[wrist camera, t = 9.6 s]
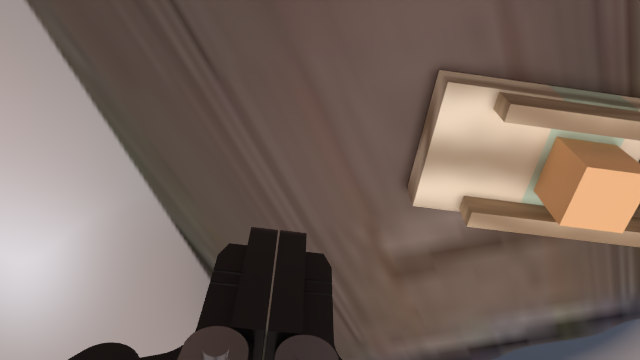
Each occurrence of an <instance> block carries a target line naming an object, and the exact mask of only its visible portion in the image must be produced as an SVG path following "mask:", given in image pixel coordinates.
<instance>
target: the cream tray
mask: <svg viewBox="0 0 640 360" xmlns="http://www.w3.org/2000/svg"><path fill="white" fill-rule="evenodd" d="M556 137H562V138H569V139H577V140H584V141H591V142H598V143H606V144H613V145H617V146H619V147H620V148H621V149H622V150H624V151H625V152H626V153H627V154H629V155H630V156H631V157H632V158H633V159H635V160H636V161H637V162H638V161H639V159H640V98H634V97H627V96H620V95H613V94H606V93H599V92H592V91H585V90H578V89H571V88H564V87H557V86H549V85H542V84H535V83H528V82H521V81H514V80H507V79H500V78H493V77H486V76H479V75H472V74H465V73H458V72H451V71H444V70H439V73H438V76H437V80H436V84H435V87H434V91H433V95H432V98H431V102H430V106H429V109H428V113H427V117H426V121H425V124H424V128H423V132H422V135H421V139H420V143H419V146H418V150H417V154H416V157H415V161H414V165H413V169H412V172H411V176H410V180H409V183H408V187H407V189H408V192H409V195H410V198H411V202H412V205H413V206H418V207H426V208H434V209H442V210H450V211H459V212H460V213H461V215H462V217H463V219H464V222H465V224H466V226H467V227H475V228H483V229H492V230H500V231H508V232H517V233H525V234H533V235H542V236H550V237H559V238H567V239H575V240H584V241H592V242H600V243H609V244H617V245H626V246H634V247H640V203H639V205H638V207H637V209H636V211H635V212H634V214H633V216H632V218H631V219H630V221H629V223H628V225H627V226H626V228H625V230H624V232H623V233H616V232H608V231H600V230H592V229H584V228H576V227H568V226H560V225H559V224H558V223H557V222H556V220H555V219H554V218H553V216H552V215H551V214H550V212H549V211H548V210H547V208H546V207H545V206H544V204H543V203H542V202H541V200H540V199H539V198H538V196H537V195H536V193H535V192H534V188H535V186H536V184H537V181H538V179H539V177H540V174H541V172H542V170H543V167H544V165H545V163H546V160H547V158H548V156H549V153H550V151H551V149H552V146H553V144H554V142H555V139H556Z"/></svg>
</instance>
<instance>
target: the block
mask: <svg viewBox="0 0 640 360" xmlns="http://www.w3.org/2000/svg"><path fill="white" fill-rule="evenodd" d="M534 192H535V193H536V195H537V196H538V198H539V199H540V200H541V202H542V203H543V204H544V206H545V207H546V208H547V210H548V211H549V212H550V214H551V215H552V216H553V218H554V219H555V220H556V222H557V223H558V224H559V225H560V226H568V227H576V228H584V229H592V230H600V231H608V232H616V233H623V232H624V230H625V228H626V226H627V225H628V223H629V221H630V219H631V218H632V216H633V214H634V212H635V211H636V209H637V207H638V205H639V203H640V163H638V162H637V161H636V160H635V159H633V158H632V157H631V156H630V155H629V154H627V153H626V152H625V151H624V150H622V149H621V148H620V147H619V146H617V145H613V144H606V143H598V142H591V141H584V140H577V139H569V138H562V137H556V139H555V142H554V144H553V146H552V149H551V151H550V153H549V156H548V158H547V160H546V163H545V165H544V167H543V170H542V172H541V174H540V177H539V179H538V181H537V184H536V186H535V188H534Z"/></svg>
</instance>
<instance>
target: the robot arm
mask: <svg viewBox="0 0 640 360" xmlns="http://www.w3.org/2000/svg"><path fill="white" fill-rule="evenodd" d="M277 233H278V230H273V229H264V228H256V227H252V228H251V231H250V236H249V241H248V245H239V244H230V243H229V244H228V245H227V246H226V247H225V248H224V249H223V250H222V251H221V252H220V253H219V254H218V257H217V260H216V263H215V267H214V272H213V274H212V277H211V281H210V284H209V288H208V291H207V294H206V298H205V301H204V305H203V308H202V312H201V315H200V318H199V322H198V326H197V328H196V331H195V333H193V334H192V335H191V336H190V337H189V338H188V339H187V340H186V341H185V343H184V345H182V346H181V347H179V348H177V349H175V350H173V351H170V352H168V353H164V354H159V355H153V356H148V357H142V358H139V356H138V354H137V353H136V352H135V350H133V349H132V348H131V347H129V346H127V345H124V344H121V343H102V344H98V345H95V346H92V347H90V348H87V349H86V350H84V351H82V352H80V353H78V354H77V355H75V356H74V357H72V358H70V359H68V360H262V353H263V345H264V338H265V330H266V322H267V314H268V306H269V299H270V291H271V283H272V275H273V266H274V258H275V250H276V242H277ZM264 360H342V359H341V358H340V356H339V355H338V353H337V351H336V349H335V346H334V334H333V302H332V269H331V266H330V264H329V262H328V261H327V259H326V257H325V256H324V254H320V253H311V252H306V233H300V232H291V231H283V230H280V236H279V245H278V253H277V261H276V269H275V277H274V285H273V293H272V301H271V309H270V317H269V326H268V334H267V342H266V350H265V358H264Z"/></svg>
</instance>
